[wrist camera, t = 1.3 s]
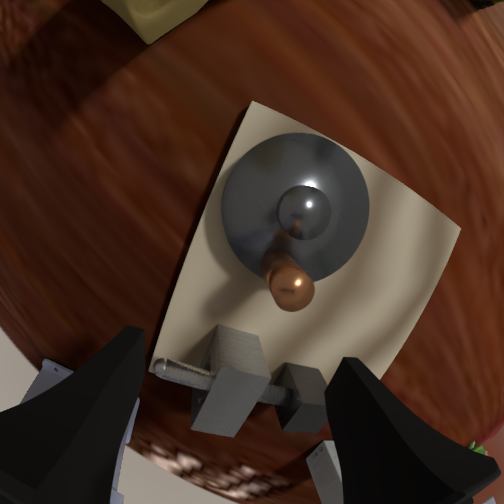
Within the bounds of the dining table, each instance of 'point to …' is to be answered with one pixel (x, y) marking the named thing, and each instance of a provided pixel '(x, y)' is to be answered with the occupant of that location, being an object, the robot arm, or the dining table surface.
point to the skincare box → (326, 473)
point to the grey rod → (268, 392)
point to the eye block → (229, 382)
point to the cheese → (154, 15)
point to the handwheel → (295, 213)
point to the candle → (485, 3)
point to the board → (326, 290)
